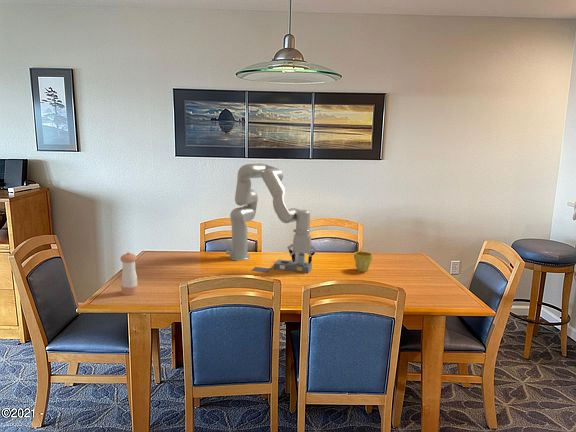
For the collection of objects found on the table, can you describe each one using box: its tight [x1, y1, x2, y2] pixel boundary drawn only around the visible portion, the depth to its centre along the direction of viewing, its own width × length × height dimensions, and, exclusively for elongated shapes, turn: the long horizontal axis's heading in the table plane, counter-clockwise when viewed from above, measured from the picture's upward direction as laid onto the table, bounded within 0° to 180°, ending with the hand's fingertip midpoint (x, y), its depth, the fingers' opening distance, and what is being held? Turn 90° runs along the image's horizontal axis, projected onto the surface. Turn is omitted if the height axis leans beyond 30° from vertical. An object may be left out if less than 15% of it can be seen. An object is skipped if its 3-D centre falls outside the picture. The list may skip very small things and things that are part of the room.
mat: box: [250, 266, 272, 273], centre depth 234 cm, size 10×8×1 cm
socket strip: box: [273, 259, 313, 274], centre depth 237 cm, size 20×9×4 cm, turn 74°
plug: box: [298, 253, 306, 266], centre depth 236 cm, size 3×3×10 cm
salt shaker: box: [120, 252, 139, 296], centre depth 193 cm, size 7×7×19 cm
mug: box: [288, 243, 306, 261], centre depth 253 cm, size 10×7×12 cm, turn 89°
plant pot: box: [353, 250, 373, 273], centre depth 239 cm, size 10×10×10 cm
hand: (301, 262), depth 236 cm, fingers open, 8 cm apart
